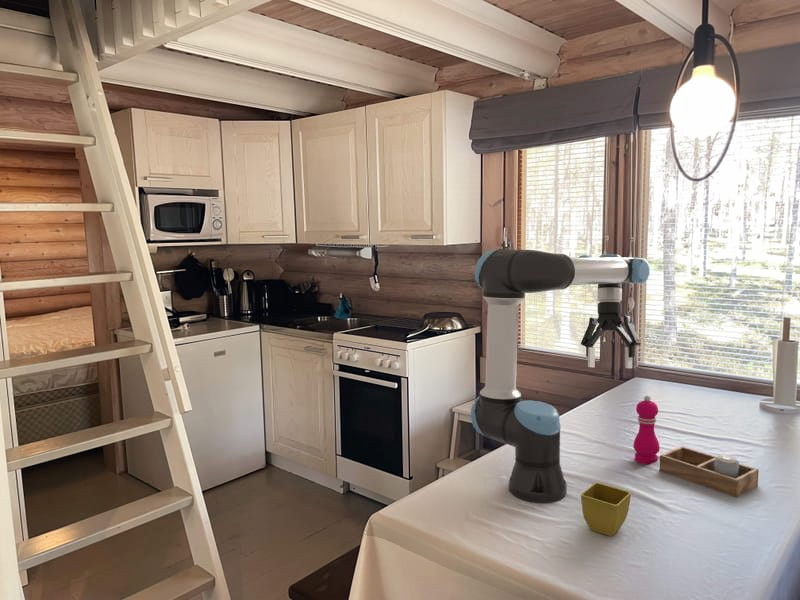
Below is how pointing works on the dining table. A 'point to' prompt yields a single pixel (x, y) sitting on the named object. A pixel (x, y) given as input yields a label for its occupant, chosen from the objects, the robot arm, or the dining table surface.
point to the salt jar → (727, 466)
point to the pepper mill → (646, 433)
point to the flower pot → (605, 508)
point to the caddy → (707, 471)
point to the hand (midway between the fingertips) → (609, 367)
